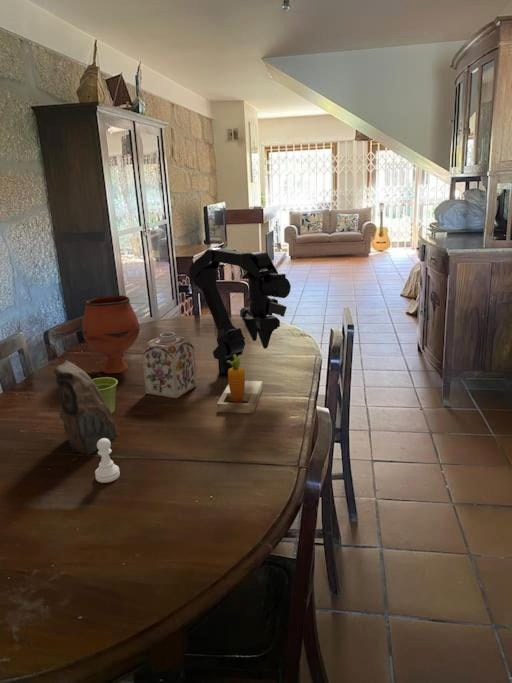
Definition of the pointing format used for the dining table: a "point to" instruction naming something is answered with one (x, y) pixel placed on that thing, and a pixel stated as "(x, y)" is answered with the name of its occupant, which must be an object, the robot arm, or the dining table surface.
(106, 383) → the plant pot
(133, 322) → the goblet
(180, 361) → the decorative jar
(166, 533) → the dining table surface
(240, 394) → the carrot
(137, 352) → the dining table surface
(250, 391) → the open matchbox
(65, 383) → the owl
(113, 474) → the chess pawn
